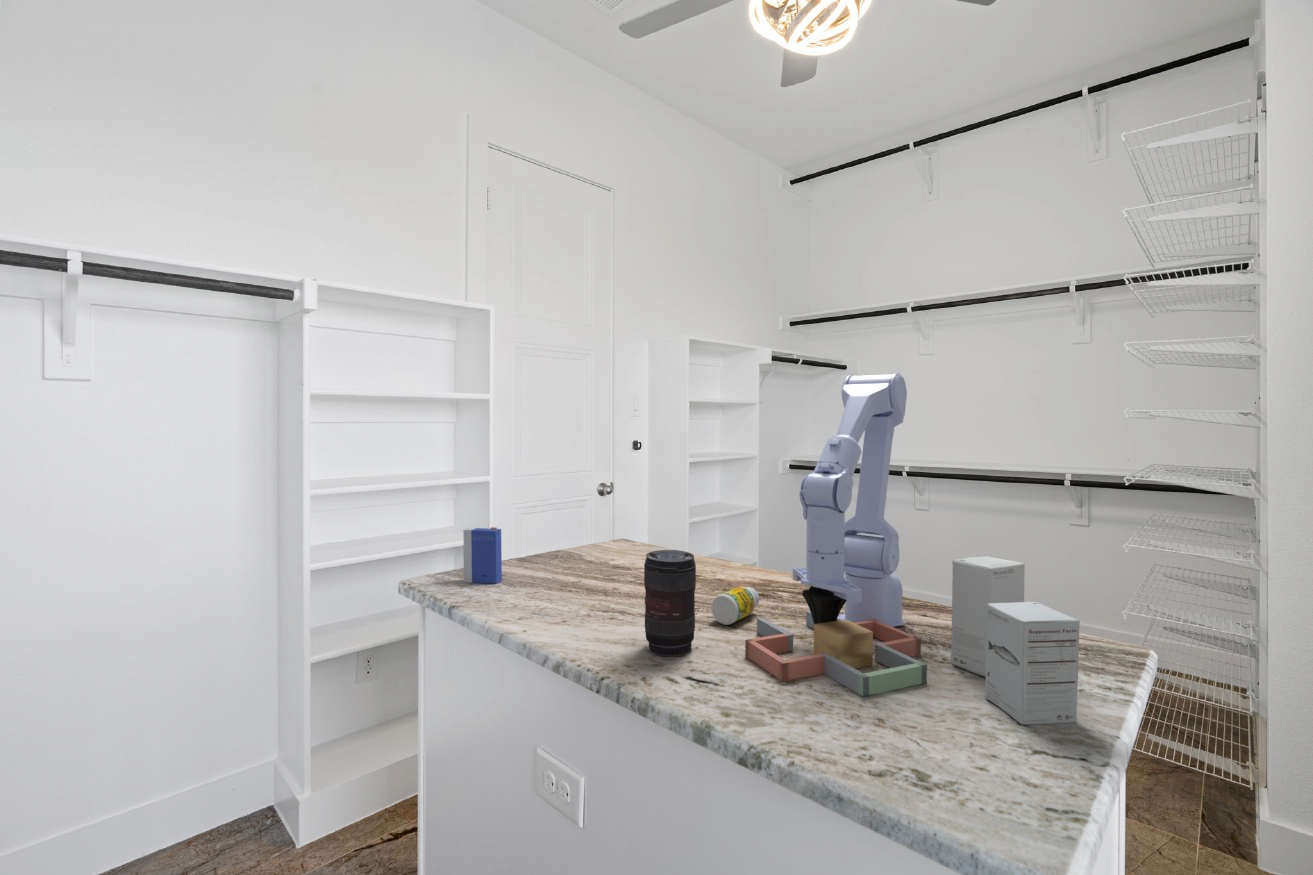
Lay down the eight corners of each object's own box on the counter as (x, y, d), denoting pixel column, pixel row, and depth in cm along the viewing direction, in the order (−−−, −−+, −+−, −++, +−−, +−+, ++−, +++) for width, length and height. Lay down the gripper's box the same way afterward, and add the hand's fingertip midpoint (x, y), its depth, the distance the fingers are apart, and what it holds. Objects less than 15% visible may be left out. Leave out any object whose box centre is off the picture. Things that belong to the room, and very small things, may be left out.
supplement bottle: (716, 628, 111) (743, 615, 118) (740, 621, 108) (766, 608, 115) (706, 598, 112) (733, 587, 119) (730, 591, 109) (756, 580, 116)
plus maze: (843, 619, 113) (843, 605, 113) (964, 674, 89) (964, 657, 89) (720, 638, 103) (720, 623, 103) (818, 706, 79) (818, 686, 79)
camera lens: (648, 660, 94) (647, 561, 94) (641, 641, 102) (641, 550, 102) (700, 657, 95) (700, 559, 95) (690, 638, 103) (690, 548, 103)
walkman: (501, 580, 140) (501, 527, 139) (496, 584, 137) (495, 529, 137) (469, 578, 141) (469, 526, 141) (463, 582, 139) (462, 528, 138)
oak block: (845, 651, 98) (846, 619, 98) (872, 665, 92) (872, 631, 92) (813, 656, 95) (813, 624, 95) (838, 671, 90) (839, 637, 90)
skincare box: (988, 680, 87) (990, 569, 86) (947, 663, 93) (948, 559, 92) (1025, 668, 91) (1027, 562, 90) (983, 653, 97) (985, 553, 96)
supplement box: (983, 698, 81) (984, 602, 81) (1036, 696, 82) (1038, 600, 82) (1020, 726, 74) (1022, 620, 74) (1079, 723, 75) (1081, 618, 74)
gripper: (777, 543, 103) (776, 625, 103) (834, 562, 89) (833, 656, 90) (813, 540, 105) (812, 620, 106) (873, 558, 92) (872, 649, 92)
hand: (824, 636), depth 98 cm, fingers closed
